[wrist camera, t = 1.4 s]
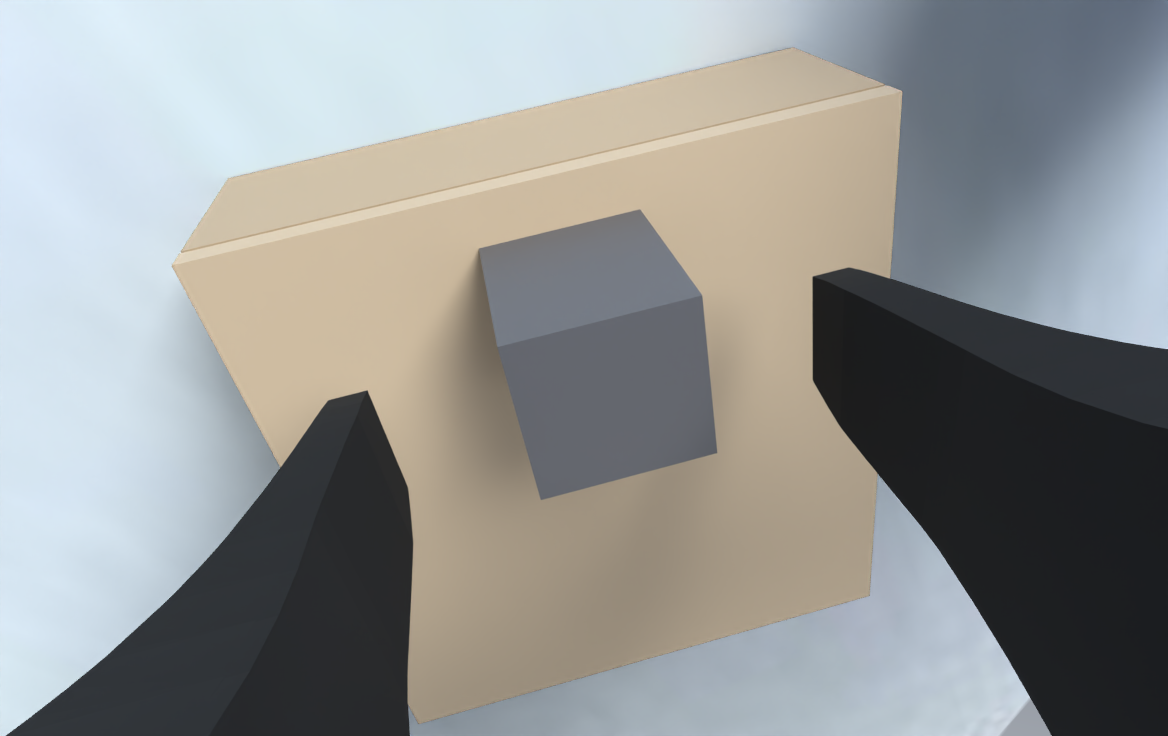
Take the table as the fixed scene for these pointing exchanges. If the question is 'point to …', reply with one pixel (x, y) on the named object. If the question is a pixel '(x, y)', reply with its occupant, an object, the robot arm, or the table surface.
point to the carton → (519, 143)
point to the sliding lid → (588, 388)
